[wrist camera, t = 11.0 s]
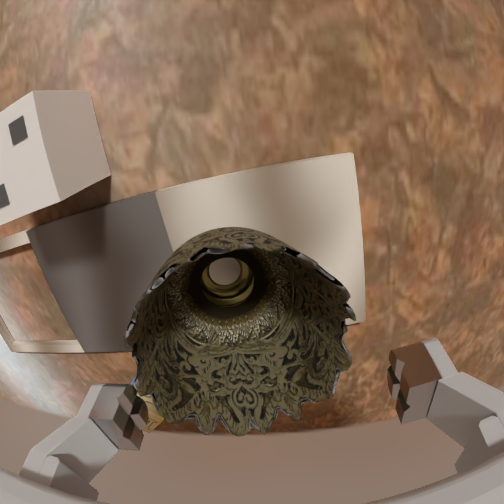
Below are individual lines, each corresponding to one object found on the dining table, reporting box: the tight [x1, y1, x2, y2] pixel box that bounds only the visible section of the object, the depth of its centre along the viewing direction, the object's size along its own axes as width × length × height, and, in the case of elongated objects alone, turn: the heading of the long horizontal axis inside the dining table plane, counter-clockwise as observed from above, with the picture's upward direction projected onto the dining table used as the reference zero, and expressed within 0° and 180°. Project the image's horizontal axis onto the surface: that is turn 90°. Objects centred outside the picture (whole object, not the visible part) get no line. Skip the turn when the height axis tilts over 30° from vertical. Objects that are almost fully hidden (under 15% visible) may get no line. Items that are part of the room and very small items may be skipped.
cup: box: [123, 227, 356, 436], centre depth 13 cm, size 8×7×8 cm
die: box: [0, 90, 111, 225], centre depth 13 cm, size 5×5×5 cm
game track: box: [0, 152, 366, 353], centre depth 18 cm, size 30×10×1 cm, turn 102°
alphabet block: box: [130, 377, 164, 433], centre depth 22 cm, size 3×3×3 cm
